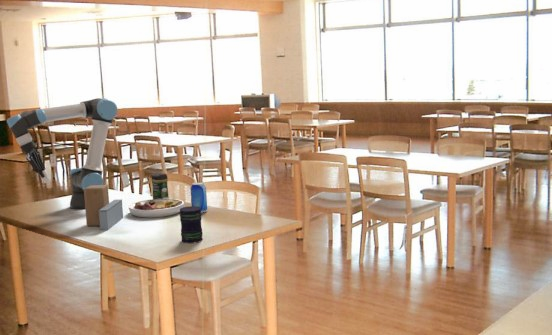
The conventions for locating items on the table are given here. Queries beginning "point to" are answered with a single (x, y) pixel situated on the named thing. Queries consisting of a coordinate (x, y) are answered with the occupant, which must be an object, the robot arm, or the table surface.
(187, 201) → the table surface
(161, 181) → the coffee jar
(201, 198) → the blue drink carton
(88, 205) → the wooden block
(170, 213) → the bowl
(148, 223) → the table surface
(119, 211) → the beam
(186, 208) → the storage jar
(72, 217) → the table surface
